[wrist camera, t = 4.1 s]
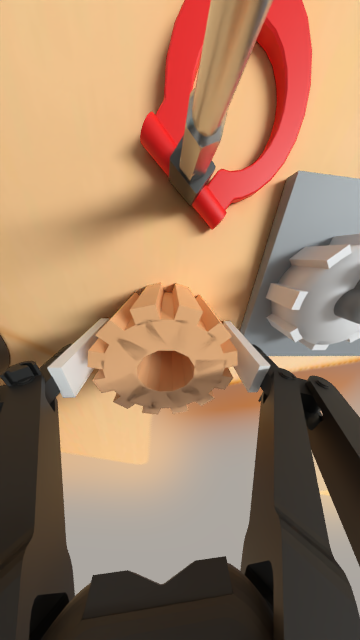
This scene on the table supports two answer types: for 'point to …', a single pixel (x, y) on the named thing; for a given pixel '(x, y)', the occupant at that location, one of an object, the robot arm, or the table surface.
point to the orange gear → (163, 351)
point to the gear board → (290, 234)
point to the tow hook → (226, 95)
